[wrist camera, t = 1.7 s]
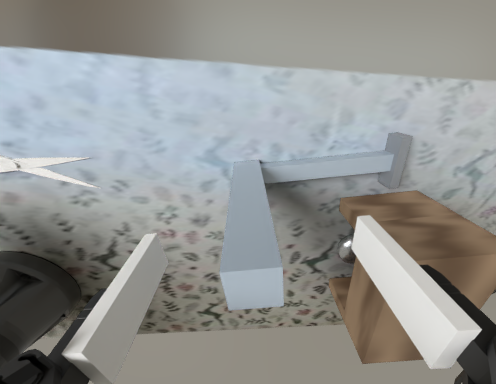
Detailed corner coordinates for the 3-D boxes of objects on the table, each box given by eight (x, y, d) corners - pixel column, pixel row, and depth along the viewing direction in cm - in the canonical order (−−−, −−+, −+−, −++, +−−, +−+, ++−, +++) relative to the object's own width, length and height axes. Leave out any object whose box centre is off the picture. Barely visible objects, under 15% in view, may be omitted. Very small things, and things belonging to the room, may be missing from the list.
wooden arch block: (328, 286, 34) (362, 363, 25) (340, 197, 26) (399, 262, 16) (386, 281, 34) (443, 358, 24) (417, 190, 26) (523, 251, 16)
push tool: (238, 194, 25) (232, 325, 11) (232, 150, 23) (213, 249, 9) (385, 180, 25) (573, 298, 11) (397, 132, 22) (672, 206, 8)
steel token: (334, 258, 32) (338, 264, 30) (338, 233, 29) (342, 240, 28) (365, 255, 31) (370, 261, 30) (371, 230, 29) (377, 237, 28)
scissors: (-121, 107, 20) (83, 129, 21) (-109, 107, 20) (88, 128, 22) (-58, 197, 25) (105, 211, 26) (-49, 195, 25) (109, 208, 26)
